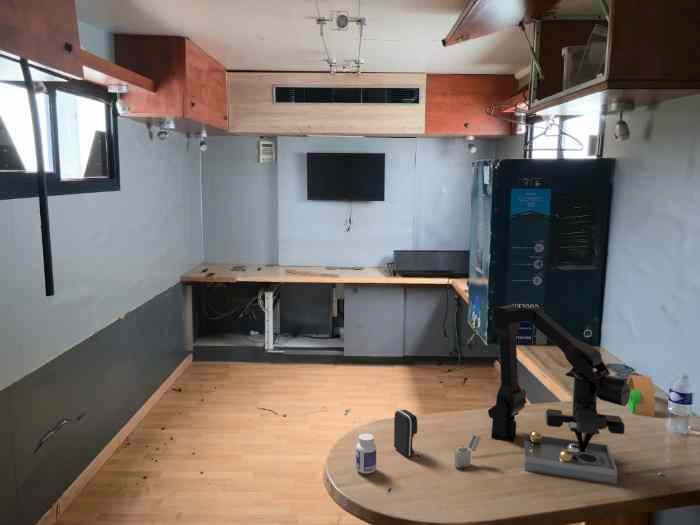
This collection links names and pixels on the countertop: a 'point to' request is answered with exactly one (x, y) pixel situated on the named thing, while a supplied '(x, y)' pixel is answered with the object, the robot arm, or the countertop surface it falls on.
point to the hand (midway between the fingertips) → (582, 451)
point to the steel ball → (573, 449)
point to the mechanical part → (634, 400)
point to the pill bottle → (366, 454)
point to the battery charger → (404, 431)
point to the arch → (643, 394)
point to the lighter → (466, 452)
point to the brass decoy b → (565, 456)
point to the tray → (585, 466)
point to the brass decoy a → (535, 436)
